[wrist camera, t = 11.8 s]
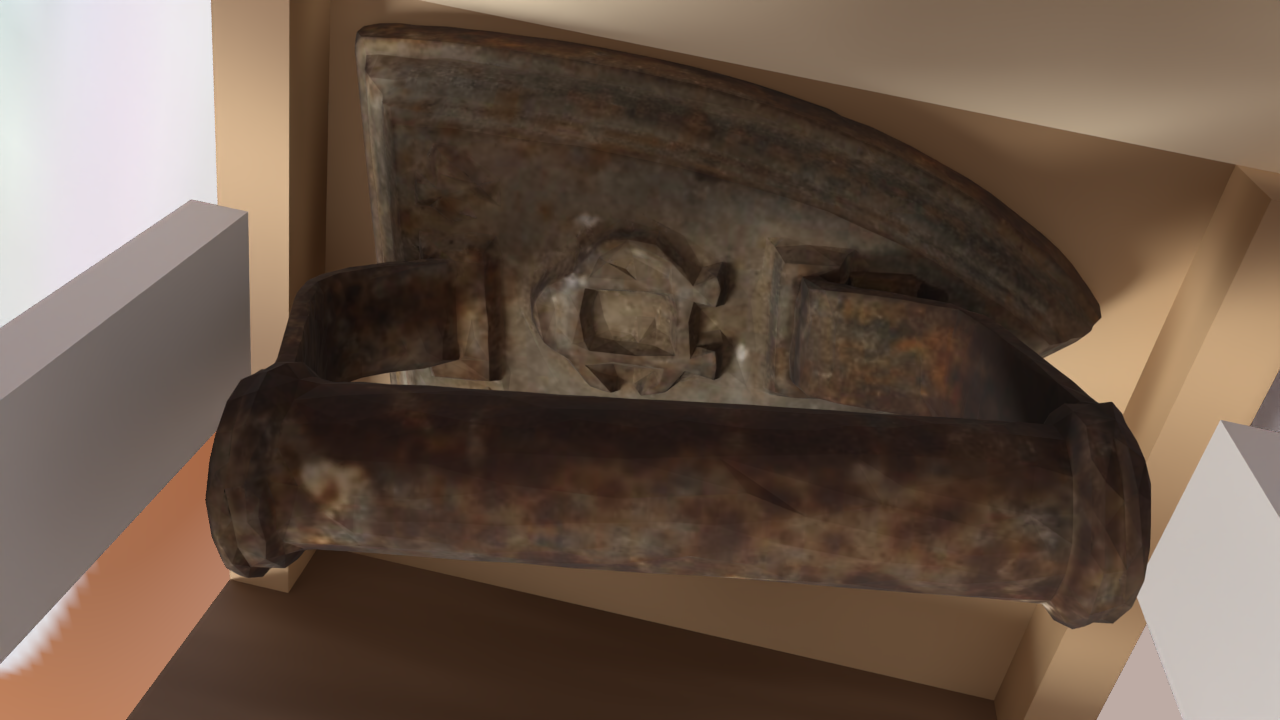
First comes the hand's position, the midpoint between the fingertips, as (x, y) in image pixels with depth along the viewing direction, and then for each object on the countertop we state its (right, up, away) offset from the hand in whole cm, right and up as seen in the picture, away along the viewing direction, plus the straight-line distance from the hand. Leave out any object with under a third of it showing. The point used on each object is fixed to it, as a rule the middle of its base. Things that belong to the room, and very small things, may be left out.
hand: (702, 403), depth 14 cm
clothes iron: (+1, +2, +3) cm, 4 cm away
